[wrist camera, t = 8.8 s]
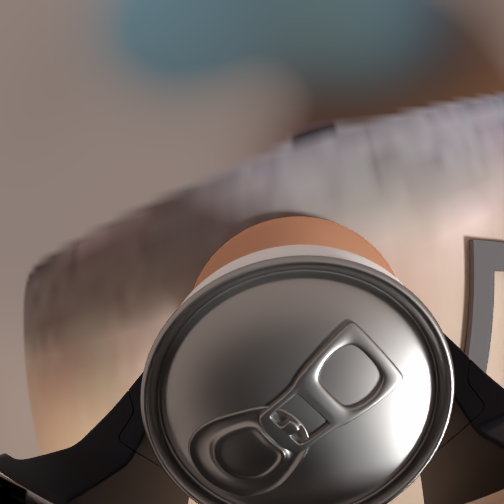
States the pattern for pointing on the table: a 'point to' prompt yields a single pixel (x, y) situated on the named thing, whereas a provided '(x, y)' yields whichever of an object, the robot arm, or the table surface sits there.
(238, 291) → the can
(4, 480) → the robot arm
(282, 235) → the plate
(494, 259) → the gray square frame
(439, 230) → the table surface
